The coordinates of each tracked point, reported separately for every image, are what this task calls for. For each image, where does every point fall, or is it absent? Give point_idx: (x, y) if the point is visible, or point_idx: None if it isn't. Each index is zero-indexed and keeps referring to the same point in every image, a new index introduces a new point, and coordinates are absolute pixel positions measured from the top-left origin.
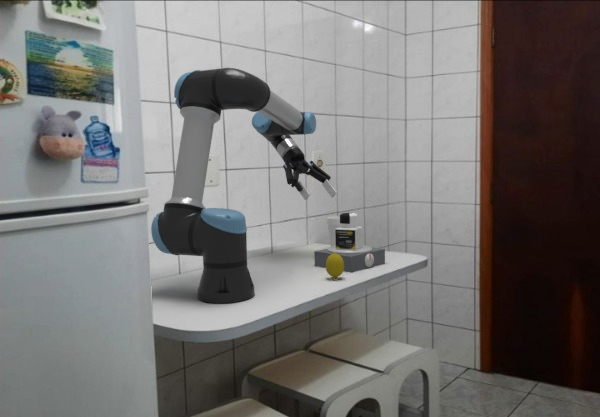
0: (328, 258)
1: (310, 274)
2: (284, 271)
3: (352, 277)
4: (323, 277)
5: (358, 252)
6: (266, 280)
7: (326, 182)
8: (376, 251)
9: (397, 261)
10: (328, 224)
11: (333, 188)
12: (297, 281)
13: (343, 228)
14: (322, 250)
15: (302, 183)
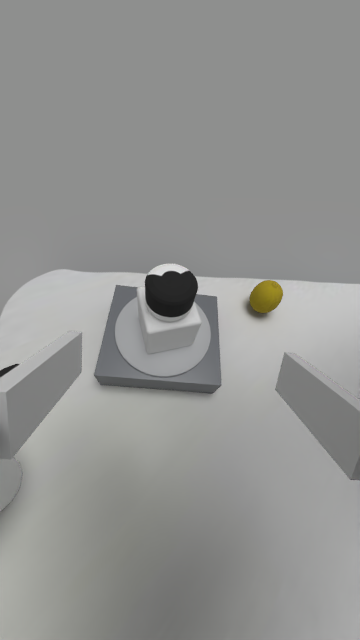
0: (282, 293)
1: (265, 353)
2: (287, 408)
3: (233, 295)
4: (263, 325)
5: None
6: (345, 384)
7: (24, 392)
8: None
9: (91, 293)
10: None
11: (58, 342)
12: (307, 340)
13: (193, 304)
14: (202, 375)
15: (347, 400)
